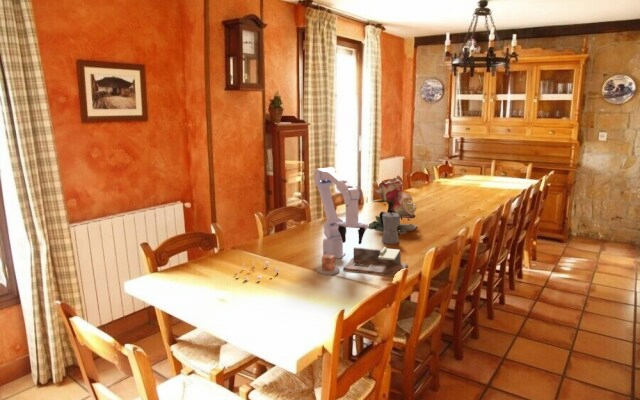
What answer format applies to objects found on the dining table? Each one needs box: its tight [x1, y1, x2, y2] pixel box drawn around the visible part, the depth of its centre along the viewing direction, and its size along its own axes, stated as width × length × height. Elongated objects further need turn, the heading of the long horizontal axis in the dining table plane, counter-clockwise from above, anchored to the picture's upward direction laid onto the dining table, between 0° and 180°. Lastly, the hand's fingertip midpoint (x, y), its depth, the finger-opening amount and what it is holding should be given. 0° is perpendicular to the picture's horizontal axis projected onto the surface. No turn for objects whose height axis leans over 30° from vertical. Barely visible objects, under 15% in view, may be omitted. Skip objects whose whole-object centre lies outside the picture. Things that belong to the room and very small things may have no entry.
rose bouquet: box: [368, 177, 418, 235], centre depth 274 cm, size 26×29×30 cm
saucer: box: [316, 265, 341, 276], centre depth 204 cm, size 10×10×1 cm
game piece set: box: [235, 260, 280, 280], centre depth 202 cm, size 19×20×4 cm
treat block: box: [321, 254, 336, 271], centre depth 204 cm, size 4×4×6 cm
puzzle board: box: [342, 247, 408, 277], centre depth 207 cm, size 26×15×7 cm, turn 70°
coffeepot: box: [379, 209, 401, 245], centre depth 247 cm, size 15×9×18 cm, turn 33°
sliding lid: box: [378, 246, 401, 260], centre depth 204 cm, size 7×13×2 cm, turn 160°
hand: (352, 242), depth 211 cm, fingers open, 7 cm apart
